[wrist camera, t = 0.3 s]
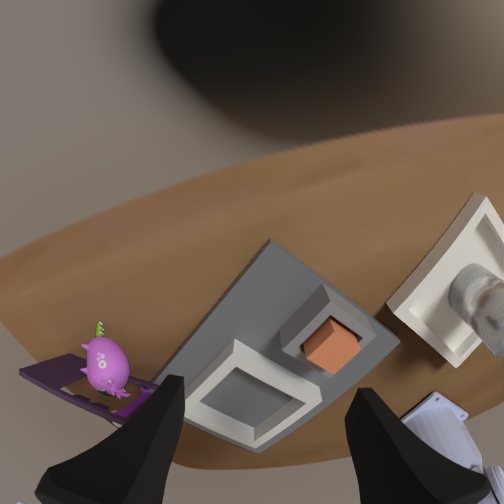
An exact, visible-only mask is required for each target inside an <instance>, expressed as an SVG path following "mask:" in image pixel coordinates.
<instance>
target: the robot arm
mask: <svg viewBox="0 0 504 504" xmlns="http://www.w3.org/2000/svg"><path fill="white" fill-rule="evenodd" d="M184 414H185V390H184V376H177V375H171V374H169V375H167V376H166V377H165V379H164V380H163V382H162V383H161V384H160V386H159V387H158V388H157V389H156V391H155V392H154V393H153V394H152V396H151V397H150V398H149V399H148V400H147V401H146V402H145V403H144V405H143V406H142V407H141V408H140V409H139V410H138V411H137V412H136V413H135V414H134V415H133V416H132V417H131V418H130V419H129V420H128V421H127V422H126V423H124V424H123V425H122V426H121V427H120V428H119V429H117V430H116V431H115V432H114V433H112V434H111V435H110V436H108V437H107V438H105V439H104V440H103V441H101V442H100V443H98V444H97V445H95V446H94V447H92V448H91V449H89V450H87V451H85V452H83V453H81V454H79V455H77V456H75V457H74V458H71V459H69V460H67V461H64V462H62V463H60V464H57V465H54V466H52V467H49V468H48V469H47V471H46V472H45V473H44V475H43V476H42V478H41V480H40V482H39V484H38V486H37V488H36V490H35V496H36V497H37V499H38V500H39V501H40V502H41V503H42V504H162V501H163V495H164V489H165V484H166V479H167V475H168V471H169V468H170V464H171V461H172V458H173V455H174V452H175V449H176V446H177V443H178V439H179V436H180V433H181V430H182V425H183V419H184ZM467 417H468V413H467V412H465V411H464V410H462V409H461V408H459V407H458V406H457V405H455V404H454V403H452V402H451V401H449V400H448V399H446V398H445V397H444V396H442V395H441V394H439V393H438V392H434V393H432V394H431V395H430V396H428V397H427V398H426V399H425V400H424V401H423V402H421V403H420V404H419V405H418V406H417V407H416V408H414V409H413V410H412V411H411V412H409V413H408V414H407V415H406V416H404V417H403V418H402V419H401V420H400V419H399V418H398V417H397V416H396V415H395V414H394V413H393V411H392V410H391V409H390V408H389V407H388V406H387V405H386V404H385V402H384V401H383V400H382V399H381V398H380V397H379V396H378V394H377V393H376V392H375V391H374V390H373V389H372V388H358V390H357V392H356V394H355V397H354V399H353V401H352V403H351V406H350V408H349V410H348V412H347V414H346V416H345V427H346V435H347V441H348V445H349V448H350V452H351V456H352V460H353V463H354V467H355V471H356V475H357V479H358V484H359V492H360V501H361V504H504V473H503V471H502V470H501V468H500V467H499V466H498V465H494V466H493V465H490V466H488V467H487V468H485V467H484V466H483V465H482V457H481V454H480V452H479V451H478V449H477V447H476V445H475V443H474V441H473V439H472V438H471V436H470V434H469V432H468V431H467V429H466V427H465V425H464V423H463V421H464V420H465V419H466V418H467ZM17 504H25V503H23V502H22V501H18V502H17Z"/></svg>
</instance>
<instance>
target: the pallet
mask: <svg viewBox="0 0 504 504" xmlns="http://www.w3.org/2000/svg"><path fill="white" fill-rule="evenodd" d="M329 316H331V317H333V318H334V319H336V320H337V321H338V322H340V323H341V324H343V325H344V326H346V327H347V328H348V329H350V330H351V331H353V333H354V335H355V337H356V339H357V342H358V344H359V346H360V348H361V350H360V351H359V352H358V353H357V354H356V355H355V356H354V357H353V358H352V359H350V360H349V361H348V362H347V363H346V364H345V365H344V366H343V367H342V368H340V369H339V370H338V371H337V372H336V373H335V374H332V373H330V372H328V371H327V370H325V369H323V368H322V367H320V366H318V365H316V364H315V363H313V362H311V361H310V360H308V359H306V355H305V350H304V345H303V342H304V341H305V340H306V339H307V338H308V337H309V336H310V335H311V334H312V333H313V332H314V331H315V330H316V329H317V328H318V327H319V326H320V325H321V324H322V323H323V322H324V321H325V320H326V319H327V318H328V317H329ZM400 342H401V341H400V340H399V338H398V337H397V335H395V334H394V333H393V332H392V331H390V330H389V329H388V328H387V327H385V326H384V325H383V324H381V323H380V322H379V321H378V320H376V319H375V318H374V317H373V316H371V315H370V314H369V313H367V312H366V311H365V310H364V309H362V308H361V307H360V306H358V305H357V304H356V303H355V302H353V301H352V300H351V299H349V298H348V297H347V296H346V295H344V294H343V293H342V292H340V291H339V290H338V289H337V288H335V287H334V286H333V285H331V284H330V283H329V282H327V281H326V280H325V279H324V278H322V277H321V276H320V275H318V274H317V273H316V272H314V271H313V270H312V269H310V268H309V267H308V266H306V265H305V264H304V263H303V262H301V261H300V260H299V259H297V258H296V257H295V256H293V255H292V254H291V253H289V252H288V251H287V250H285V249H284V248H283V247H281V246H280V245H279V244H277V243H276V242H275V241H273V240H272V239H271V238H270V239H269V240H268V241H267V242H266V244H265V245H264V246H263V247H262V248H261V250H260V251H259V252H258V253H257V255H256V256H255V257H254V258H253V259H252V261H251V262H250V263H249V264H248V265H247V267H246V268H245V269H244V270H243V272H242V273H241V274H240V275H239V276H238V278H237V279H236V280H235V281H234V282H233V284H232V285H231V286H230V287H229V289H228V290H227V291H226V292H225V293H224V295H223V296H222V297H221V298H220V299H219V301H218V302H217V303H216V304H215V305H214V307H213V308H212V309H211V310H210V312H209V313H208V314H207V315H206V316H205V318H204V319H203V320H202V321H201V322H200V324H199V325H198V326H197V327H196V328H195V330H194V331H193V332H192V333H191V334H190V336H189V337H188V338H187V339H186V340H185V342H184V343H183V344H182V345H181V347H180V348H179V349H178V350H177V351H176V353H175V354H174V355H173V356H172V357H171V359H170V360H169V361H168V362H167V363H166V365H165V366H164V367H163V368H162V369H161V371H160V372H159V373H158V374H157V375H156V377H155V378H154V379H153V380H152V381H151V383H153V384H157V385H160V384H161V383H162V382H163V380H164V379H165V377H166V376H167V375H169V374H171V375H177V376H184V390H185V414H184V419H183V421H185V422H187V423H189V424H191V425H193V426H195V427H197V428H199V429H201V430H203V431H205V432H207V433H210V434H212V435H214V436H216V437H219V438H221V439H223V440H225V441H228V442H230V443H233V444H235V445H237V446H240V447H242V448H245V449H248V450H250V451H253V452H255V453H258V454H259V453H260V452H262V451H264V450H265V449H267V448H268V447H270V446H272V445H273V444H275V443H276V442H278V441H279V440H281V439H282V438H284V437H285V436H287V435H288V434H290V433H291V432H293V431H294V430H295V429H297V428H298V427H300V426H301V425H303V424H304V423H305V422H307V421H308V420H310V419H311V418H312V417H314V416H315V415H316V414H318V413H319V412H320V411H322V410H323V409H324V408H326V407H327V406H328V405H329V404H331V403H332V402H333V401H335V400H336V399H337V398H338V397H340V396H341V395H342V394H343V393H344V392H346V391H347V390H348V389H349V388H351V387H352V386H353V385H354V384H355V383H356V382H358V381H359V380H360V379H361V378H362V377H363V376H365V375H366V374H367V373H368V372H369V371H370V370H371V369H373V368H374V367H375V366H376V365H377V364H378V363H379V362H380V361H381V360H382V359H383V358H385V357H386V356H387V355H388V354H389V353H390V352H391V351H392V350H393V349H394V348H395V347H396V346H397V345H398V344H399V343H400ZM146 389H150V390H149V392H150V393H153V392H154V391H155V390H154V389H151V388H147V387H146Z"/></svg>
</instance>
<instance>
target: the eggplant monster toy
mask: <svg viewBox="0 0 504 504" xmlns="http://www.w3.org/2000/svg"><path fill="white" fill-rule="evenodd" d="M102 325H103V324H102V323H101V322H97V326H96V337H95V338H93V339H91V340H90V342H89V344H82V347H83V348H84V349H86V351H87V360H85V359H83V358H80V357H78V356H75V355H73V354H66V355H62V356H59V357H56V358H53V359H50V360H47V361H44V362H41V363H37V364H35V365H31V366H28V367H25V368H21V369H19V375H20V376H22V377H23V378H25V379H27V380H29V381H30V382H32V383H34V384H35V385H37V386H39V387H41V388H42V389H44V390H46V391H48V392H50V393H52V394H54V395H56V396H58V397H60V398H62V399H63V400H65V401H67V402H70V403H72V404H74V405H76V406H78V407H80V408H82V409H85V410H87V411H89V412H91V413H94V414H96V415H98V416H101V417H103V418H105V419H108V420H110V421H112V422H113V424H114V425H115V426H117V427H121V426H122V425H123V424H124V423H126V422H127V421H128V420H129V419H130V418H131V417H132V416H133V415H134V414H135V413H136V412H137V411H138V410H139V409H140V408H141V407H142V406H143V405H144V403H145V402H146V401H147V400H148V399H149V398H150V397H151V396H152V394H153V393H154V392H155V391H156V389H157V388H158V387H159V386H160V385H157V384H153V383H150V382H147V381H144V380H141V379H137V378H134V377H131V376H129V373H130V368H129V363H128V360H127V357H126V355H125V353H124V351H123V350H122V349H121V347H120V346H119V345H118V344H117V343H116V342H114V341H113V340H111V339H109V338H106V337H102V335H103V334H104V333H102V331H103V330H104V329H102V328H101V326H102ZM85 376H87V378H88V381H89V383H90V384H91V385H92V386H93V387H94V388H95V389H96V390H97V391H98V392H100V393H102V394H103V395H107V396H114V394H116V396H117V397H118V398H119V399H121V396H124V397H128V396H130V395H131V393H124V392H126V391H125V390H124V388H123V387H124V386H125V384H126V383H127V381H129V382H132V383H135V384H138V385H141V387H140V390H141V391H142V392H143V393H142V394H141V395H140V396H139V397H138V398H137V399H136V400H134V401H133V402H132V403H131V404H129V405H128V406H126V407H124V408H122V409H119V410H115V411H111V412H110V411H109V408H108V406H105V405H103V404H101V403H90V399H89V398H86V397H84V396H82V395H71V394H69V393H66V392H64V391H62V390H60V388H62V387H64V386H66V385H69V384H71V383H73V382H75V381H77V380H79V379H81V378H83V377H85ZM142 386H144V387H147V388H151V389H154V390H155V391H154V392H153V393H150V392H149V390H150V389H145V388H144V387H142Z"/></svg>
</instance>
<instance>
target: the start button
mask: <svg viewBox="0 0 504 504" xmlns="http://www.w3.org/2000/svg"><path fill="white" fill-rule="evenodd" d="M303 345H304V350H305V355H306V359H308V360H310V361H311V362H313V363H315V364H316V365H318V366H320V367H322V368H323V369H325V370H327V371H328V372H330V373H332V374H335V373H336V372H337V371H338V370H339V369H340V368H342V367H343V366H344V365H345V364H346V363H347V362H348V361H349V360H350V359H352V358H353V357H354V356H355V355H356V354H357V353H358V352H359V351H360V350H361V348H360V346H359V344H358V342H357V339H356V337H355V335H354V333H353V331H351V330H350V329H348V328H347V327H346V326H344V325H343V324H341V323H340V322H338V321H337V320H336V319H334V318H333V317H331V316H329V317H328V318H327V319H326V320H325V321H324V322H323V323H322V324H321V325H320V326H319V327H318V328H317V329H316V330H315V331H314V332H313V333H312V334H311V335H310V336H309V337H308V338H307V339H306V340H305V341H304V342H303Z"/></svg>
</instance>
